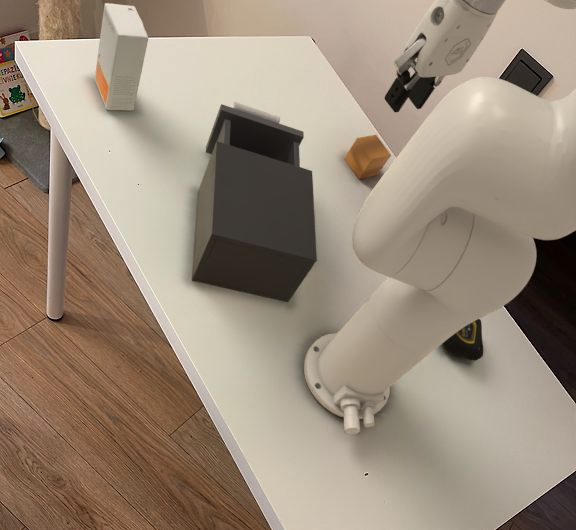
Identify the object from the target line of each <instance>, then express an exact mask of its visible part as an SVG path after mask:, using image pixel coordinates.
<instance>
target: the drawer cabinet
mask: <svg viewBox="0 0 576 530" xmlns="http://www.w3.org/2000/svg"><path fill="white" fill-rule="evenodd" d="M195 210H196V211H195V224H194V225H195V226H194V236H193V237H194V239H193V255H192V266H191V282H195V283H199V284H205V285H208V286H214V287H217V288H222V289H227V290H231V291H236V292H240V293H246V294H248V295H253V296H258V297H263V298H267V299H270V300H271V299H272V300H277V301H280V302H285V303H289V301H290V300H291V299H292V297H293V296H294V294H295V293H296V292H297V290H298V289H299V287H300V286H301V284H302V283H303V281H304V280H305V279H306V277H307V276H308V274H309V273H310V271H311V270H312V269H313V267H314V266H315V264H316V263H317V261H318V254H317V237H316V235H317V234H316V220H315V217H316V216H315V198H314V181H313V170H310V169H308V168H304V167H301V166H300V167H298V166H295V165H292V164H288V163H285V162H282V161H279V160H276V159H272V158H269V157H266V156H263V155H260V154H256V153H253V152H250V151H247V150H243V149H240V148H237V147H234V146H231V145H227V144H224V143H221V142H218V141H216V144H215V147H214V149H213V152H212V154H210V158H209V160H208V163H207V166H206V168H205V171H204V174H203V177H202V180H201V182H200V185H199V188H198V190H197V195H196V209H195Z"/></svg>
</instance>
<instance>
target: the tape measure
mask: <svg viewBox="0 0 576 530" xmlns="http://www.w3.org/2000/svg"><path fill="white" fill-rule="evenodd" d="M482 325H483V324H482V319H481V318H480V319H478V320H476V321H474V322H472V323H470V324H468V325H467V326H465V327H463V328H462V329H461V330H459V331H458V332H456V333H455V334H454V335H452V336H451V337H450V338H448V339H447V340H446V341H445V342H444V343H442V344H441V345H442V346H443V348H444V349H445V350H446V351H447V353H449V354H451V356H454V357H456V358H460V359H467V360H469V361H473V362H475V361H476V362H477V361H479V360H480V359H482V358H483V356H484V343H483V327H482Z"/></svg>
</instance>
